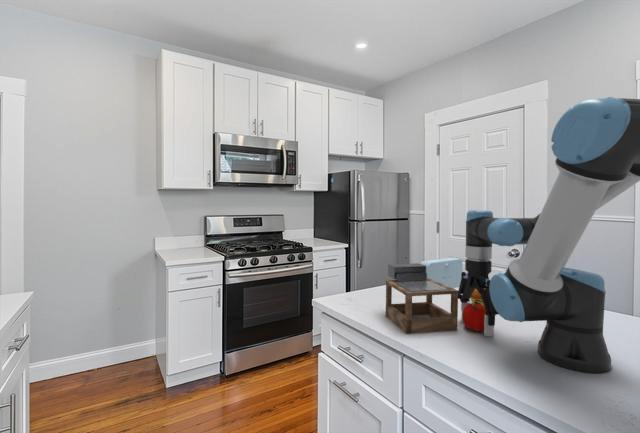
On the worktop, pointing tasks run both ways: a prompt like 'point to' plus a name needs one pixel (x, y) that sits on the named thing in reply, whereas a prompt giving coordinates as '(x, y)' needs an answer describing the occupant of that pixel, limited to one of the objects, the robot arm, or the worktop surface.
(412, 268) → the trapdoor
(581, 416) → the worktop surface
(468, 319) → the tomato
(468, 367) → the worktop surface
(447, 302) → the worktop surface
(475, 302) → the cheeseburger
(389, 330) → the worktop surface
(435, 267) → the light blue box
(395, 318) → the frame
